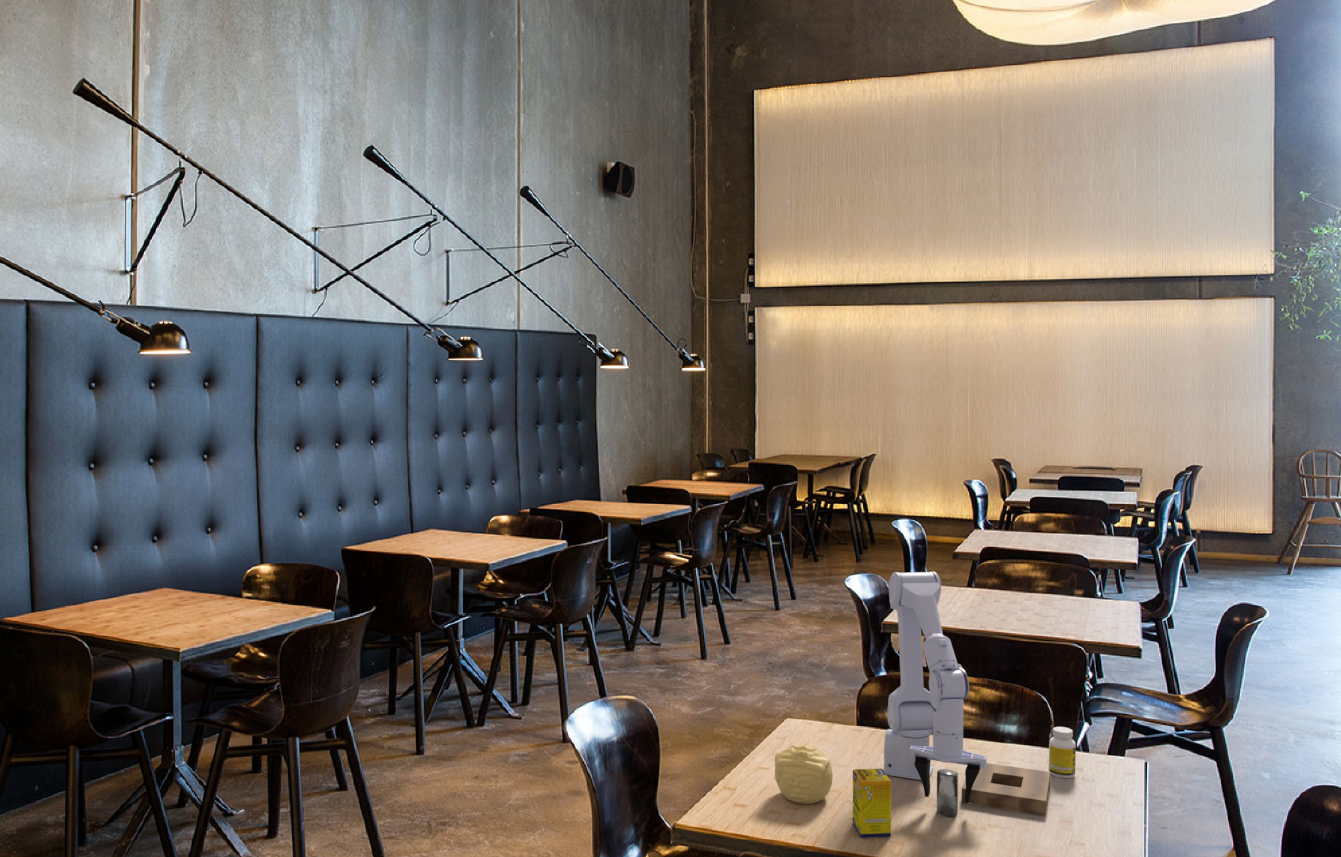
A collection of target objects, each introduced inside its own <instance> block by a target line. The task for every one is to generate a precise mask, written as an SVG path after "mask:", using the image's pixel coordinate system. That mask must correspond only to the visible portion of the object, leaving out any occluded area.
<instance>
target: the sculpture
mask: <svg viewBox="0 0 1341 857" xmlns="http://www.w3.org/2000/svg"><path fill="white" fill-rule="evenodd" d="M774 768H775V769H774V777H775V779H774V780H775V782H776V784H777V786H778V788H779V791H780V793H781V794H782V796H783V797H784V798H785V799H787V800H788V801H791V802H793V803H797V804H803V805H811V804H817V803H819V802H821V801H822V800H824V799H825V798H826V797H827V795H828V794H829V792H830V790H831V788H832V785H833V784H832V783H833V776H834V775H833V768H832V764H831V761H830V759H829V758H828V757H827V755H826V754H825V753H824V752H822V751H821V750H820V749H818V748H817V747H814V746H810V745H794V744H792V745H790V746H789V747H788V748H786V749H784V750H781V751H779V752H777V753H776V754H775V756H774Z"/></svg>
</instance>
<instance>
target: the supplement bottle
mask: <svg viewBox="0 0 1341 857" xmlns="http://www.w3.org/2000/svg"><path fill="white" fill-rule="evenodd" d="M1073 731H1074V730H1073V729H1071V728H1070V727H1065V726H1056V727H1055V726H1054V727H1053V728H1052V735H1053V736H1052V737H1051V738H1050V739H1049V741H1048V742H1049V744H1048V772H1050V776H1051V775H1052V777H1053V776H1054V777H1055V776H1056V778H1059V779H1071V778H1074V777H1075V775H1076V757H1077V756H1076V752H1077V750H1076V749H1077V745H1076V741H1075V740H1074V739H1073Z"/></svg>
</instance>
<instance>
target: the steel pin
mask: <svg viewBox="0 0 1341 857" xmlns="http://www.w3.org/2000/svg"><path fill="white" fill-rule="evenodd" d="M958 797H959V773H958V772H957V771H955V770H953V769H949V768H941V769H938V770H937V771H936V813H937V815H939V814H940V816H941V815H943V816H942V817H944V816H946V818H954V817H953V816H955V817H956V815H959V812H958V810H959V808H958V807H959V806H958V804H959V803H958V802H959V798H958Z"/></svg>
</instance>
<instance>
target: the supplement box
mask: <svg viewBox="0 0 1341 857" xmlns="http://www.w3.org/2000/svg"><path fill="white" fill-rule="evenodd" d="M852 825H853V827H854V828H855V829H856V832H857V834H858V836H859V837H860V838H861V839H868V838H869V839H871V837H872V838H873V837H877V838H891V837H892V780H891V779H890V777H888V775H886V774H885V772H884V768H856V769H852ZM873 839H874V838H873Z"/></svg>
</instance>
